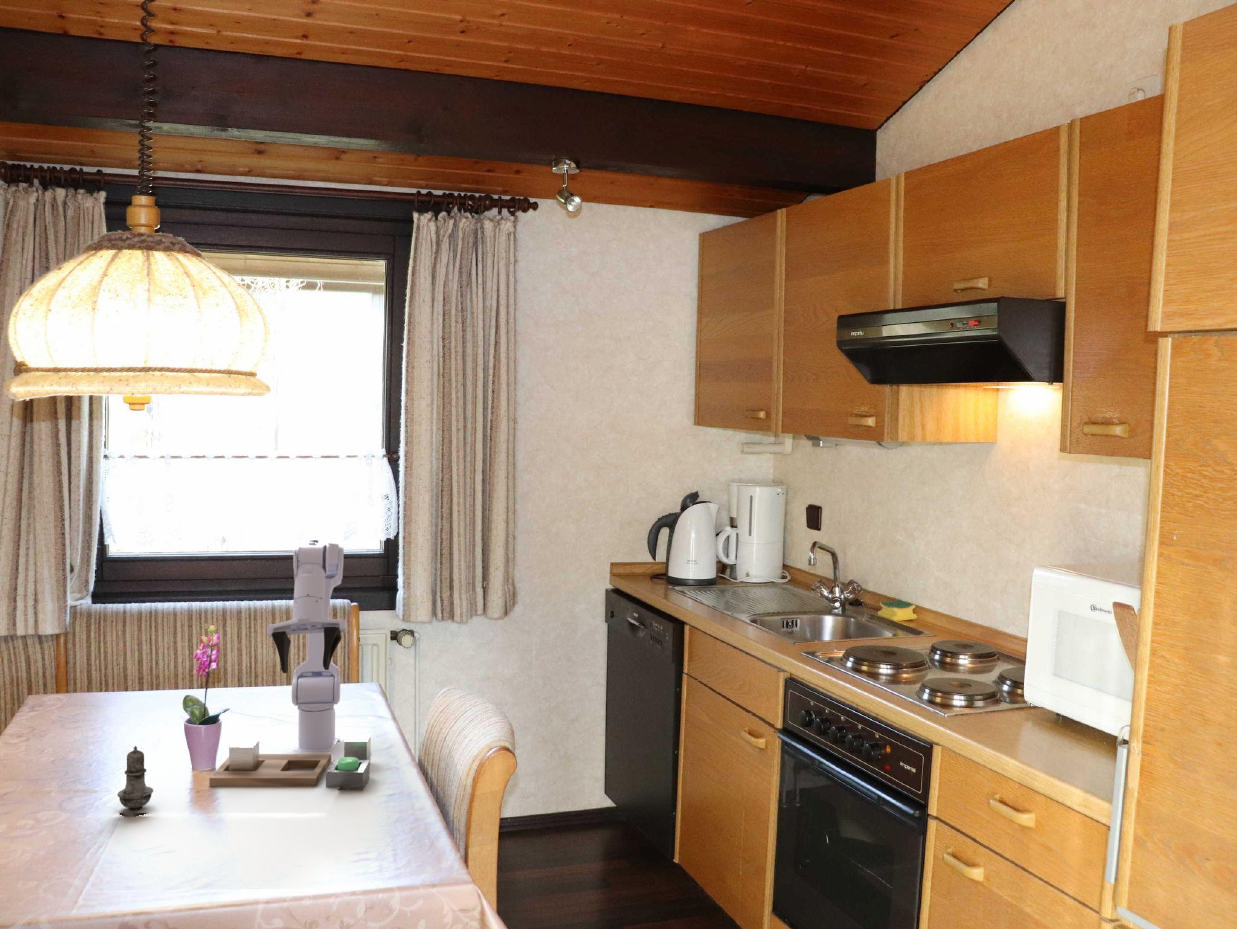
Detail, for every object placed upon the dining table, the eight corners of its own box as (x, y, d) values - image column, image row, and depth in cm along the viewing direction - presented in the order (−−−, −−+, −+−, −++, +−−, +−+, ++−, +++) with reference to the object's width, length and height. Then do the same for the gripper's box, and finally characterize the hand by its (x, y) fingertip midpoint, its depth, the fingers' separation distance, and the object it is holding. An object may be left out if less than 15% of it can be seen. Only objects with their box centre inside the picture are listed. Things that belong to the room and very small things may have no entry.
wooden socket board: (231, 764, 215) (231, 753, 215) (331, 764, 216) (331, 754, 216) (209, 789, 201) (209, 777, 201) (315, 789, 203) (316, 778, 202)
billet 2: (348, 763, 218) (348, 734, 218) (370, 763, 218) (370, 734, 218) (344, 770, 213) (344, 741, 213) (366, 770, 214) (366, 741, 213)
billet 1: (235, 769, 211) (236, 740, 210) (258, 769, 211) (259, 740, 211) (229, 777, 206) (229, 747, 206) (252, 777, 206) (252, 747, 206)
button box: (333, 777, 209) (333, 760, 209) (369, 777, 210) (369, 760, 209) (325, 790, 202) (326, 772, 202) (362, 790, 203) (363, 772, 202)
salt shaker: (139, 819, 186) (139, 752, 186) (110, 816, 187) (109, 749, 187) (160, 807, 192) (160, 742, 191) (131, 804, 193) (131, 739, 193)
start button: (339, 771, 208) (339, 757, 208) (360, 771, 208) (360, 757, 208) (335, 778, 204) (335, 764, 204) (356, 778, 204) (356, 764, 204)
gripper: (265, 597, 200) (260, 665, 194) (342, 591, 202) (340, 659, 195) (274, 611, 206) (269, 678, 200) (349, 605, 208) (347, 672, 201)
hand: (305, 669), depth 198 cm, fingers open, 7 cm apart
